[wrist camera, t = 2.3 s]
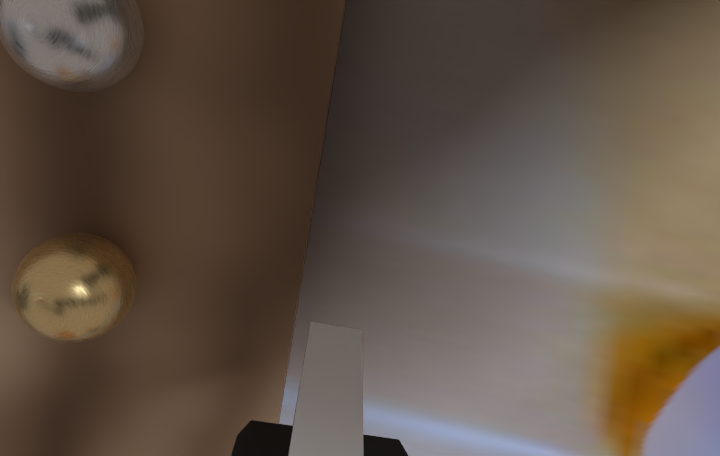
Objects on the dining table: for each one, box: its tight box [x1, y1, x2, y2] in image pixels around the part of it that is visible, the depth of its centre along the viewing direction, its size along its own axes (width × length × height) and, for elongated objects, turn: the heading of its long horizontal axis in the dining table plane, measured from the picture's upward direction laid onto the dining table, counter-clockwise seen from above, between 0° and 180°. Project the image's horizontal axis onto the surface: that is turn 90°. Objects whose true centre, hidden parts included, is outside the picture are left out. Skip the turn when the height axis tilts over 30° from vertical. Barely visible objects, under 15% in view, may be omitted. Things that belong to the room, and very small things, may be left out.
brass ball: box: [11, 233, 137, 343], centre depth 16 cm, size 4×4×4 cm
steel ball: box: [0, 0, 144, 92], centre depth 13 cm, size 4×4×4 cm
